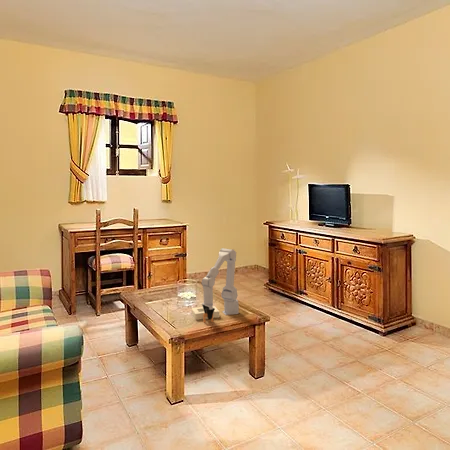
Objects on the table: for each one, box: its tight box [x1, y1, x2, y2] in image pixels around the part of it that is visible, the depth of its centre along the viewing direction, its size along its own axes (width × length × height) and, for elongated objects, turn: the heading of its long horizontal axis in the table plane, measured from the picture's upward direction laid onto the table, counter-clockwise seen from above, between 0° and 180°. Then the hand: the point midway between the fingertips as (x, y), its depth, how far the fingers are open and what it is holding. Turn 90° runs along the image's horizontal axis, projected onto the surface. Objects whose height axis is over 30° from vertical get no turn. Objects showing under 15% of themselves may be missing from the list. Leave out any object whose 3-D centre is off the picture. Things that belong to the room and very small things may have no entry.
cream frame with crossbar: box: [191, 305, 221, 321], centre depth 261 cm, size 16×12×6 cm
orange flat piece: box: [202, 313, 214, 324], centre depth 250 cm, size 6×1×6 cm, turn 107°
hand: (208, 317), depth 250 cm, fingers open, 7 cm apart
